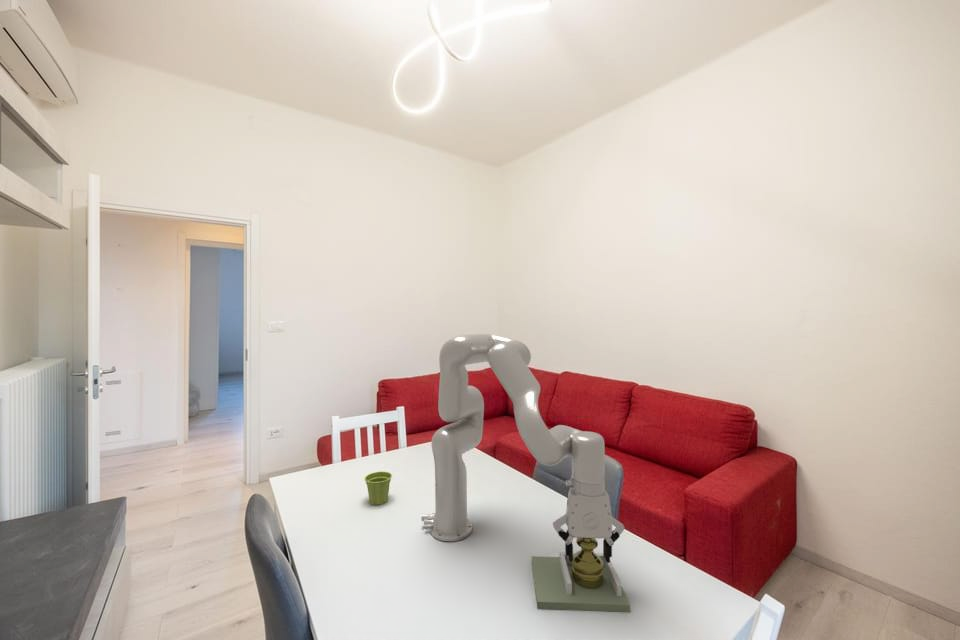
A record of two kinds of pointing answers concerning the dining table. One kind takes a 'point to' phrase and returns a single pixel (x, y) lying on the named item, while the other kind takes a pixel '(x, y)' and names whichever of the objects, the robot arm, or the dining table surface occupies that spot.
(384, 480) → the plant pot
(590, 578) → the olive rounded stacked piece
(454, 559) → the dining table surface
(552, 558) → the board with raised rails
